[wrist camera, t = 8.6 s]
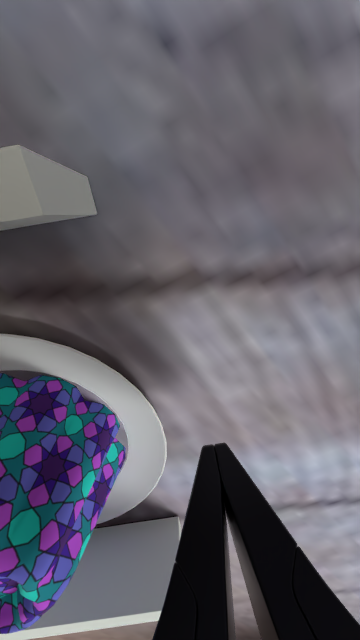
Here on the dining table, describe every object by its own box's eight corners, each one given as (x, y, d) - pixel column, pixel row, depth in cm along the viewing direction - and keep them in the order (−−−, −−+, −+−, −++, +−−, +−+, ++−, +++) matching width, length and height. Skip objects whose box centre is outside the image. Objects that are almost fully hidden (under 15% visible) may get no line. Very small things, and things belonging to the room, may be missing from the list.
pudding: (116, 288, 9) (52, 383, 4) (191, 489, 13) (205, 642, 9) (-184, 367, 9) (-561, 533, 4) (-8, 532, 14) (-98, 697, 9)
